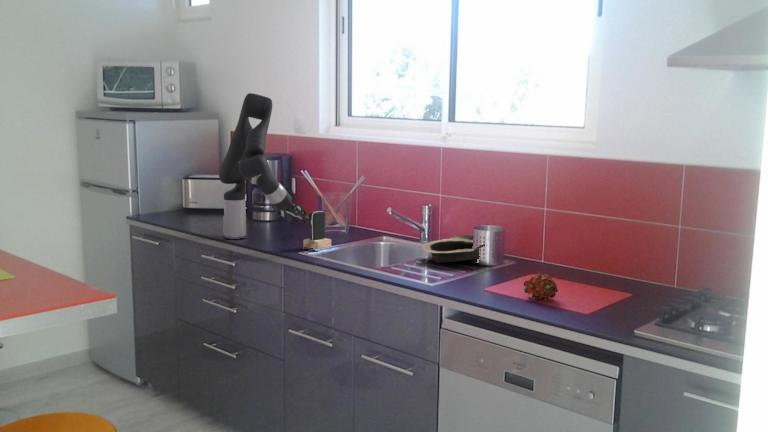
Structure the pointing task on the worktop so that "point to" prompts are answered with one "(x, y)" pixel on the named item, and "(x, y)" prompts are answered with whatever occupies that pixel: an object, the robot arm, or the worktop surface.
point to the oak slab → (317, 243)
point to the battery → (317, 225)
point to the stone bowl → (453, 249)
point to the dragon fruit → (541, 287)
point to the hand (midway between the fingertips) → (298, 221)
